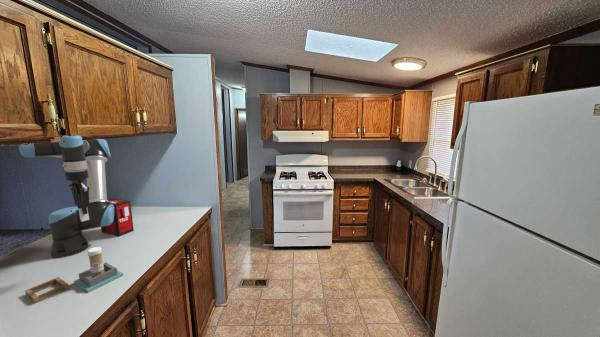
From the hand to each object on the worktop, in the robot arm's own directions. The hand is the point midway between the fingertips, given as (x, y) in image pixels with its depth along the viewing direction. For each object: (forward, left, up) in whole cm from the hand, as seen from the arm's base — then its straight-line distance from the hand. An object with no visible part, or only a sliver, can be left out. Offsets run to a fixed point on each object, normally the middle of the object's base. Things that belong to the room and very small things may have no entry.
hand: (85, 220), depth 112 cm
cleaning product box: (-34, +27, -24) cm, 50 cm away
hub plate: (+14, -3, -24) cm, 28 cm away
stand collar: (+5, -17, -24) cm, 30 cm away
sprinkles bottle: (+14, -3, -23) cm, 27 cm away
